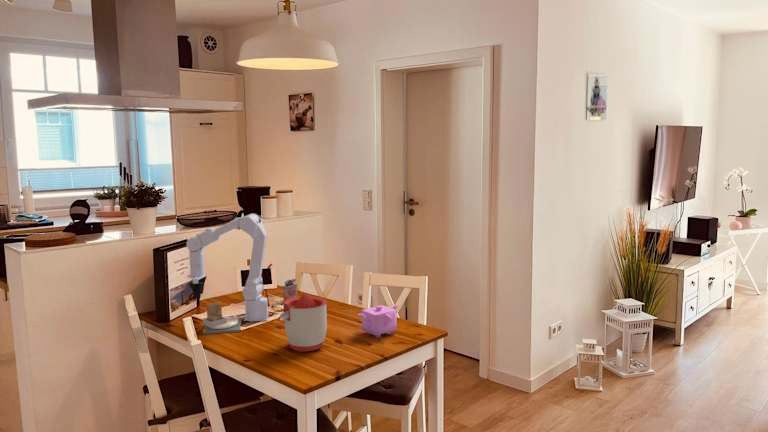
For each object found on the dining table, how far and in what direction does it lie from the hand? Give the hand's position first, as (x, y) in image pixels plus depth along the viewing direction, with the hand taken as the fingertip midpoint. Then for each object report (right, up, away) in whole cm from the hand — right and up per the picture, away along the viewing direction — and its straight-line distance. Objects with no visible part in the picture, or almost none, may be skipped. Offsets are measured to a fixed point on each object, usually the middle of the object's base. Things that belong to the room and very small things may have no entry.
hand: (198, 296), depth 254 cm
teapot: (+76, -12, -21) cm, 80 cm away
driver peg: (+11, -9, -15) cm, 21 cm away
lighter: (+35, -6, +26) cm, 44 cm away
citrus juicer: (+49, -14, -35) cm, 62 cm away
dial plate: (+13, -11, -12) cm, 21 cm away
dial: (+13, -10, -12) cm, 20 cm away
